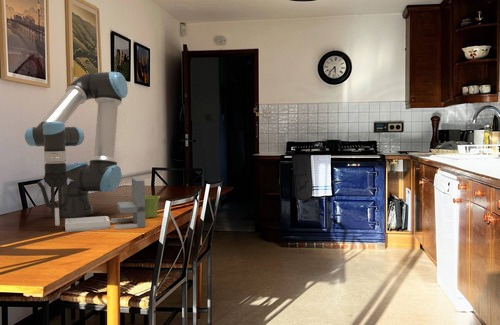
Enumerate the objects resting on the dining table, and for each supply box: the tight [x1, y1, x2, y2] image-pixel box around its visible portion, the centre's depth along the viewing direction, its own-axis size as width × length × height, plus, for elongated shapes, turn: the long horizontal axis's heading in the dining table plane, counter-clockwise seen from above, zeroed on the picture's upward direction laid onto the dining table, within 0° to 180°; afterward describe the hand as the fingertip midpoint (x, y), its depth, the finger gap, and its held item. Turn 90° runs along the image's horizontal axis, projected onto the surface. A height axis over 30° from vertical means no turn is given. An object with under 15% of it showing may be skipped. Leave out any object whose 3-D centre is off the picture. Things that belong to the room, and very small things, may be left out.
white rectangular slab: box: [64, 215, 111, 233], centre depth 192 cm, size 12×16×3 cm
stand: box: [110, 176, 147, 230], centre depth 196 cm, size 16×12×18 cm
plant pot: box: [145, 195, 161, 219], centre depth 214 cm, size 9×9×9 cm
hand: (57, 224), depth 188 cm, fingers closed
